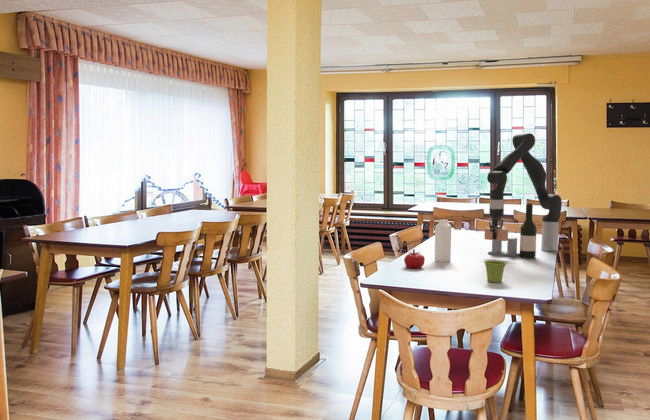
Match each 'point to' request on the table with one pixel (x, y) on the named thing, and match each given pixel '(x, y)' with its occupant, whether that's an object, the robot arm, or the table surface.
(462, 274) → the table surface
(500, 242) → the stand
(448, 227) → the milk
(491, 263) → the plant pot
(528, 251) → the wine bottle
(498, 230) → the rectangular block
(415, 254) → the red apple
